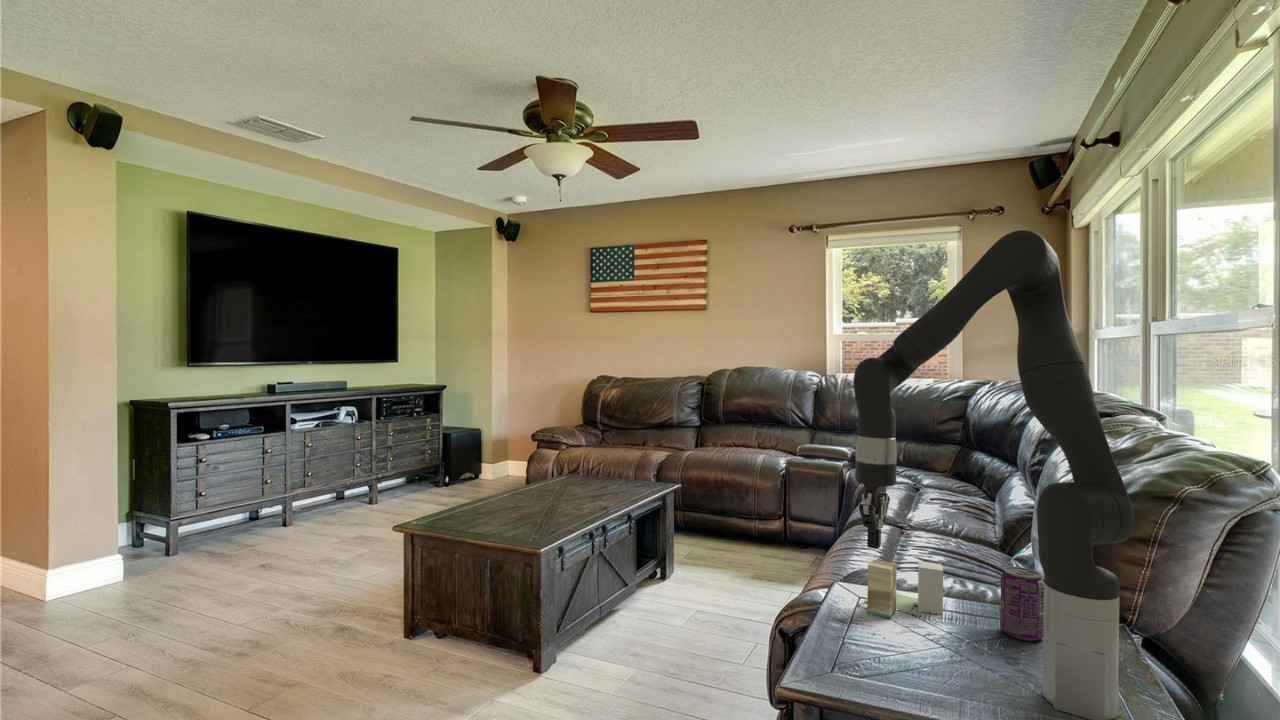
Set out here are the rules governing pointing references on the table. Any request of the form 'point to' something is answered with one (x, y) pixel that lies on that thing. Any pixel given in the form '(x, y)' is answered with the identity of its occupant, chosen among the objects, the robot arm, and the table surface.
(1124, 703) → the table surface
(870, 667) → the table surface
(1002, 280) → the robot arm
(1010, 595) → the beverage can
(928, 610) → the grey block
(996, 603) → the table surface
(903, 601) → the mat
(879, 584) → the birch block
